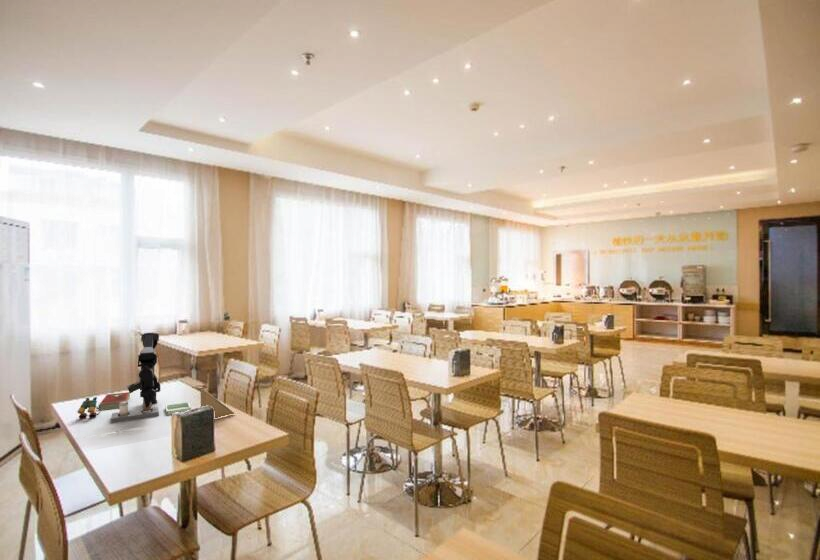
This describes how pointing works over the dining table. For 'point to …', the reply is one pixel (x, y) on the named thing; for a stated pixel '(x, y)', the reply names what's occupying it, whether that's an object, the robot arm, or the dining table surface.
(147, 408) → the fuse
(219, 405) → the sandwich container
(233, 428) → the dining table surface
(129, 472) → the dining table surface
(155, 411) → the fuse block
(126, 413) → the fuse
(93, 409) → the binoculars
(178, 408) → the parts tray
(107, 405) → the hardcover book
